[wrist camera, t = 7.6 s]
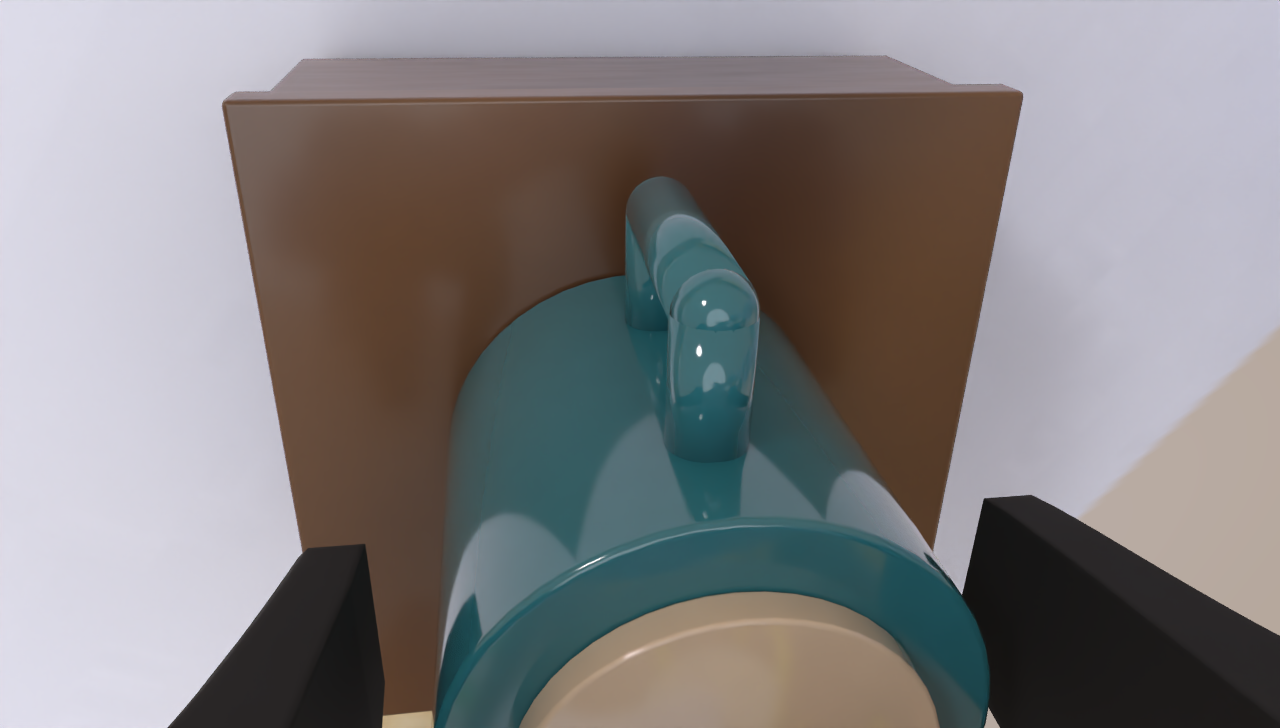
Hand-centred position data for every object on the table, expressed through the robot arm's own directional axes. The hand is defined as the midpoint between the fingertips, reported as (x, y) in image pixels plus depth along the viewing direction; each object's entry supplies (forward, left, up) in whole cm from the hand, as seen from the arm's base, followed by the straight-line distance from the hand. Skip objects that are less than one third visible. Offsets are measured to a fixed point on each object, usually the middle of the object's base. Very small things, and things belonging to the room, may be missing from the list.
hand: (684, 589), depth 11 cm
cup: (0, 0, -3) cm, 3 cm away
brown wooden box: (0, 0, -8) cm, 8 cm away
